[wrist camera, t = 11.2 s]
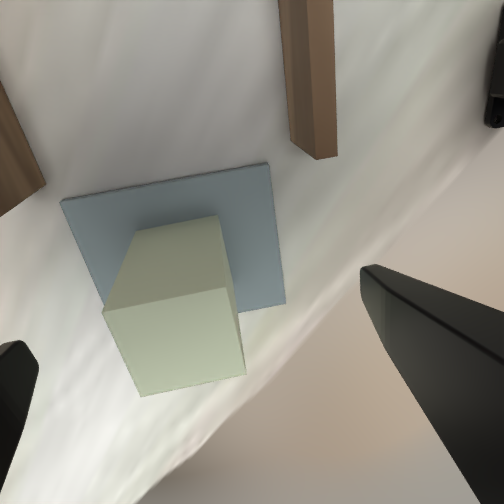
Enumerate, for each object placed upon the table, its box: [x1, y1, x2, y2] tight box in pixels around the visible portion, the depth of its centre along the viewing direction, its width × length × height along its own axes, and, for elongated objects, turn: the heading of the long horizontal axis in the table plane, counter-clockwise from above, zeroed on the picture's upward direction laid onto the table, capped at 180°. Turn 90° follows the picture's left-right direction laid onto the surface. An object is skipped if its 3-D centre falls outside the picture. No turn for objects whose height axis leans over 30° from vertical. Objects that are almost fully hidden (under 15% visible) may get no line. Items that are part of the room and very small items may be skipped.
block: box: [102, 215, 246, 397], centre depth 18 cm, size 5×5×8 cm
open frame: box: [0, 0, 338, 217], centre depth 14 cm, size 16×13×5 cm
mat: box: [59, 163, 286, 313], centre depth 22 cm, size 12×10×1 cm
